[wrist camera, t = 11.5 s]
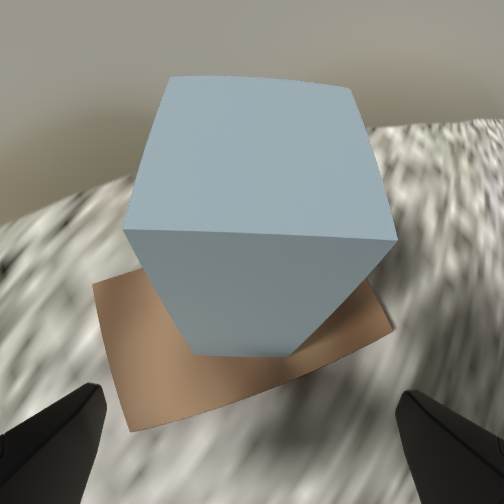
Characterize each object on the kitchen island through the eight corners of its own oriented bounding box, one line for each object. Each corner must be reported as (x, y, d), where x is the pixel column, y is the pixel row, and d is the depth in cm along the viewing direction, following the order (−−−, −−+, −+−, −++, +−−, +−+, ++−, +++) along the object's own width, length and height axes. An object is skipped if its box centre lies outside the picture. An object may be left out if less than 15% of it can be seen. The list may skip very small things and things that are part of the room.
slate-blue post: (287, 357, 17) (398, 240, 6) (193, 354, 16) (122, 229, 5) (285, 272, 19) (349, 88, 8) (199, 269, 19) (171, 76, 8)
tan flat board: (324, 220, 22) (328, 211, 21) (384, 335, 19) (393, 331, 18) (99, 291, 19) (92, 284, 18) (136, 431, 15) (130, 432, 14)
